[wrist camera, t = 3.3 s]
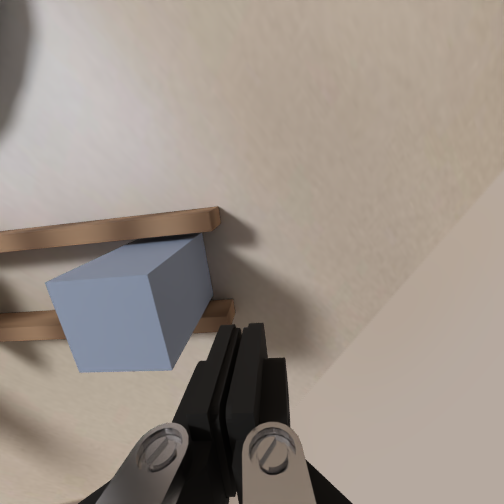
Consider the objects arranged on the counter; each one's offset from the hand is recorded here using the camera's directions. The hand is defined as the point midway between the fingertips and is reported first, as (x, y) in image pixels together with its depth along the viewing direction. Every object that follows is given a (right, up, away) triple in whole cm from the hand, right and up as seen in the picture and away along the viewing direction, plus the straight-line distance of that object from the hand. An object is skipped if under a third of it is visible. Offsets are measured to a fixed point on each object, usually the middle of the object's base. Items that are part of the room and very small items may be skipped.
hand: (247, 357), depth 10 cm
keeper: (-6, +3, +10) cm, 12 cm away
